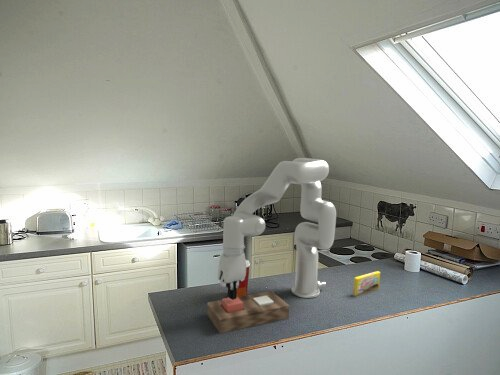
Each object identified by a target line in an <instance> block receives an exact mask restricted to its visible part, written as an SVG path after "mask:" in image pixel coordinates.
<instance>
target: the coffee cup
mask: <svg viewBox="0 0 500 375" xmlns="http://www.w3.org/2000/svg"><path fill="white" fill-rule="evenodd" d="M250 266H251V263H250V260H249V259H246V276H245V279H244V280H243V281H241V282H240V284H239V286H238V288H237V297H241V296H247V295H248V287H249V274H250Z"/></svg>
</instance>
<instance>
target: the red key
mask: <svg viewBox="0 0 500 375" xmlns="http://www.w3.org/2000/svg"><path fill="white" fill-rule="evenodd" d="M221 300H222V307H223V308H224V310H225V311H226V312H227V313H230V312H235V311H240V310H243V302H242V301H241V300H240V299H239V298H238V297H237V298H236V299H234V300H232V299H230V298H229V297H227V298H226V297H225V298H222V299H221Z"/></svg>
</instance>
